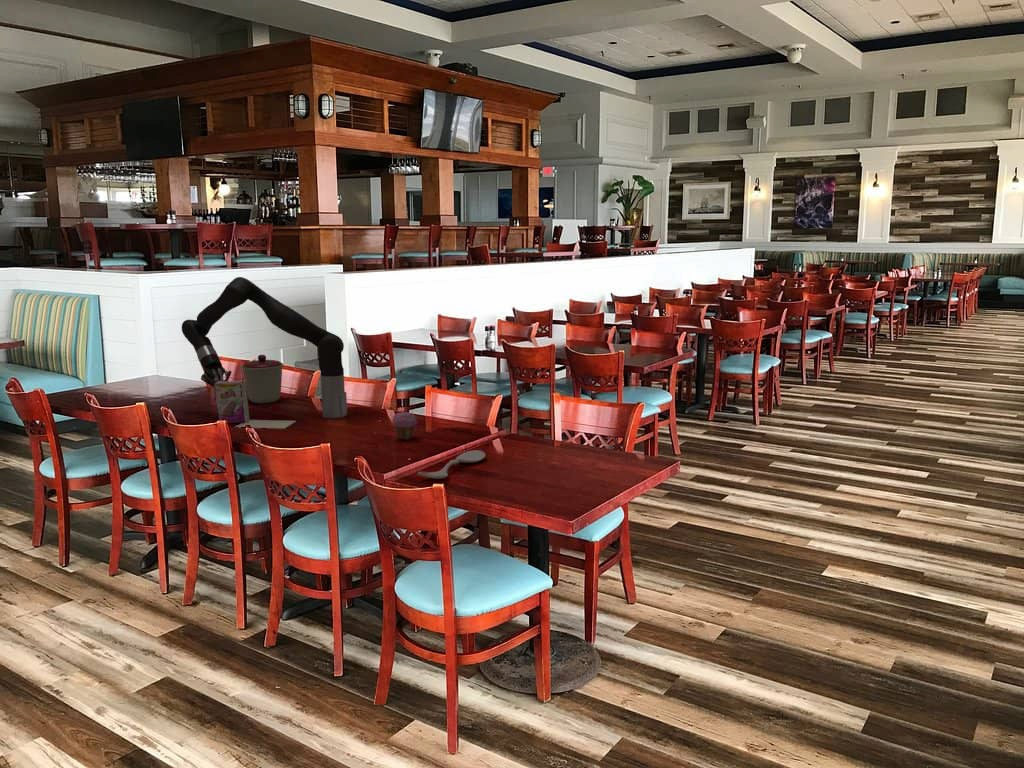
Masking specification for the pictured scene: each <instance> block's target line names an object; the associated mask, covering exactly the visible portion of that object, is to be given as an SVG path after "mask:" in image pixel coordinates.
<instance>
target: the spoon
mask: <svg viewBox="0 0 1024 768" xmlns="http://www.w3.org/2000/svg"><path fill="white" fill-rule="evenodd" d="M485 457H486V453H485V452H484V451H482V450H480V449H479V450H477V449H475V450H468V451H466V452H464V453H461V454H459V455H458V456H456V457H455V459H451V460H449V462H447V463H446V464H445V466H444V467H443V468H441V469H440V470H438V471H434V472H433V471H431V472H430V471H429V472H424V471H418V472H417V475H418V476H421V477H426V478H430V479H432V480H433V479H434V480H435V479H438V480H441V479H445V478H447V477H448V476H449V474H448V470H449V468H450V467H451V466H453V465H457V464H459V463H464V464H473V463H478V462H480V461H482V460H483V459H485Z"/></svg>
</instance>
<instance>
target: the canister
mask: <svg viewBox="0 0 1024 768" xmlns="http://www.w3.org/2000/svg"><path fill="white" fill-rule="evenodd" d="M240 367H241V369H242V371H243V379H244V381H246V391H247V399H248V400H249V401H250V402H251V403H254V404H270V403H275V402H277V401H278V400H279V399H280V398H281V395H282V392H281V391H282V380H283V378H282V377H283V367H284V363H283V362H281V361H279V360H276V359H275V360H274V359H267V356H266V355H265V354H259V355H258V356H257V360H249V361H247V362H245V363H243V364H242V365H241V366H240Z"/></svg>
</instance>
